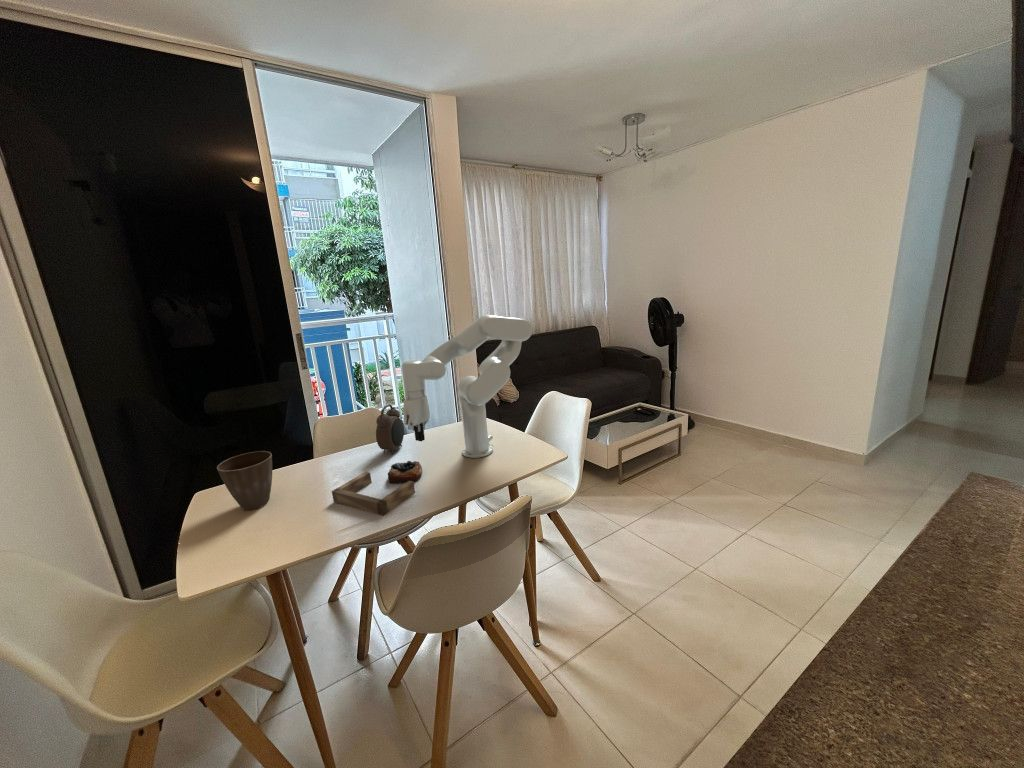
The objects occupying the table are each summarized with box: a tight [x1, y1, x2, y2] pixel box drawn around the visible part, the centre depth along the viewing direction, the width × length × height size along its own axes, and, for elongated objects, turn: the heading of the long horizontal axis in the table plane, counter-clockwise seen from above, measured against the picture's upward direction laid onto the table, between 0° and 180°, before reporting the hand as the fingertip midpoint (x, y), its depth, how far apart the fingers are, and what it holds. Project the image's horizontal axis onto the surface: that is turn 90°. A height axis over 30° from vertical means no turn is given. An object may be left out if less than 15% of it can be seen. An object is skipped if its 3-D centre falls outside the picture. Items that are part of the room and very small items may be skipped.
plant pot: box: [216, 450, 273, 511], centre depth 128 cm, size 15×15×16 cm
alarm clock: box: [375, 404, 405, 455], centre depth 164 cm, size 15×7×20 cm, turn 171°
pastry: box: [387, 460, 423, 485], centre depth 141 cm, size 11×12×6 cm
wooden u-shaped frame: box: [331, 471, 416, 516], centre depth 128 cm, size 14×22×4 cm, turn 63°
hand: (420, 440), depth 148 cm, fingers closed
